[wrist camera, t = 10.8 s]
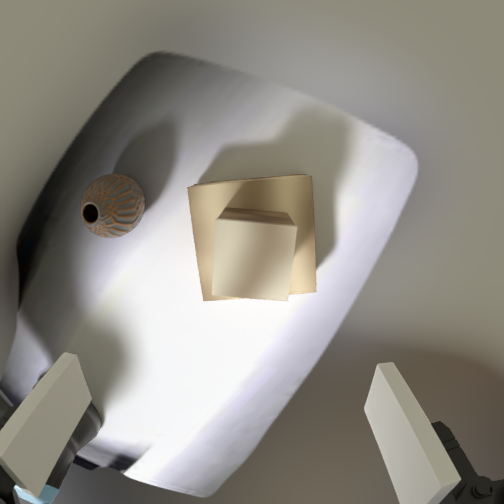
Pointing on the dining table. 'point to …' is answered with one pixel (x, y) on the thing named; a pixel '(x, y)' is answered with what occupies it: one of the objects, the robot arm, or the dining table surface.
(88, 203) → the vase
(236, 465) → the dining table surface
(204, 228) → the beech base
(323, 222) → the dining table surface
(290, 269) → the pale wooden block
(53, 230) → the dining table surface
